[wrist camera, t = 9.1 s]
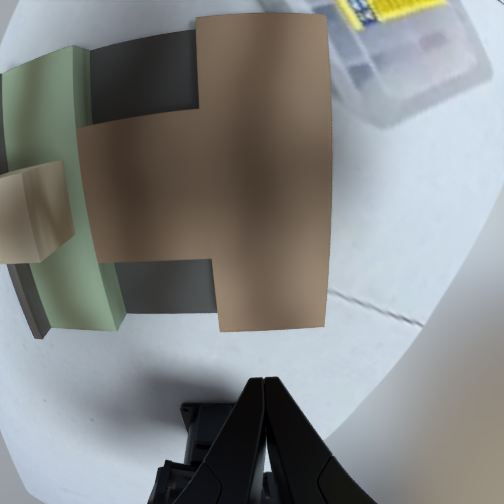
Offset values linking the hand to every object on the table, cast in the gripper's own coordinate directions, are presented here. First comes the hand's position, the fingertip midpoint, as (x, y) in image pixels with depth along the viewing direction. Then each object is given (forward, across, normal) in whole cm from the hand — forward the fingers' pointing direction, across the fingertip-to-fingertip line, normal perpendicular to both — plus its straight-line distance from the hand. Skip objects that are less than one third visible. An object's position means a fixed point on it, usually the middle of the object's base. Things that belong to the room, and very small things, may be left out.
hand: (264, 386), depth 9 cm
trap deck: (+12, +6, -4) cm, 14 cm away
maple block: (+10, +13, -4) cm, 17 cm away
